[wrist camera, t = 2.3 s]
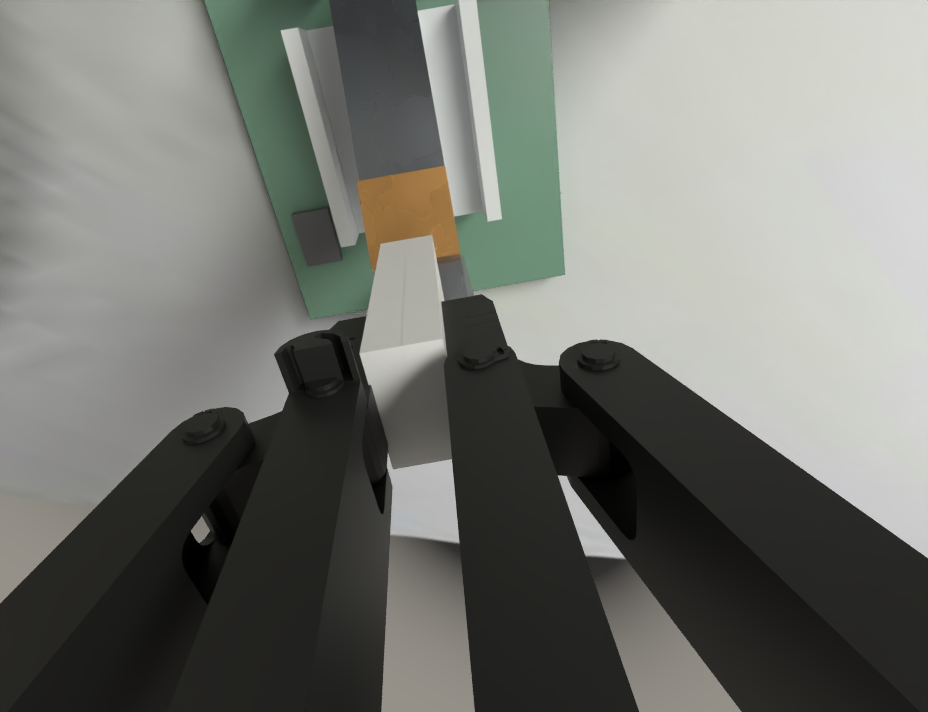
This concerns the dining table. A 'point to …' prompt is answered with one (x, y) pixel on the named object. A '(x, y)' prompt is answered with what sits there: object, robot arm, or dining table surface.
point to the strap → (396, 132)
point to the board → (510, 136)
